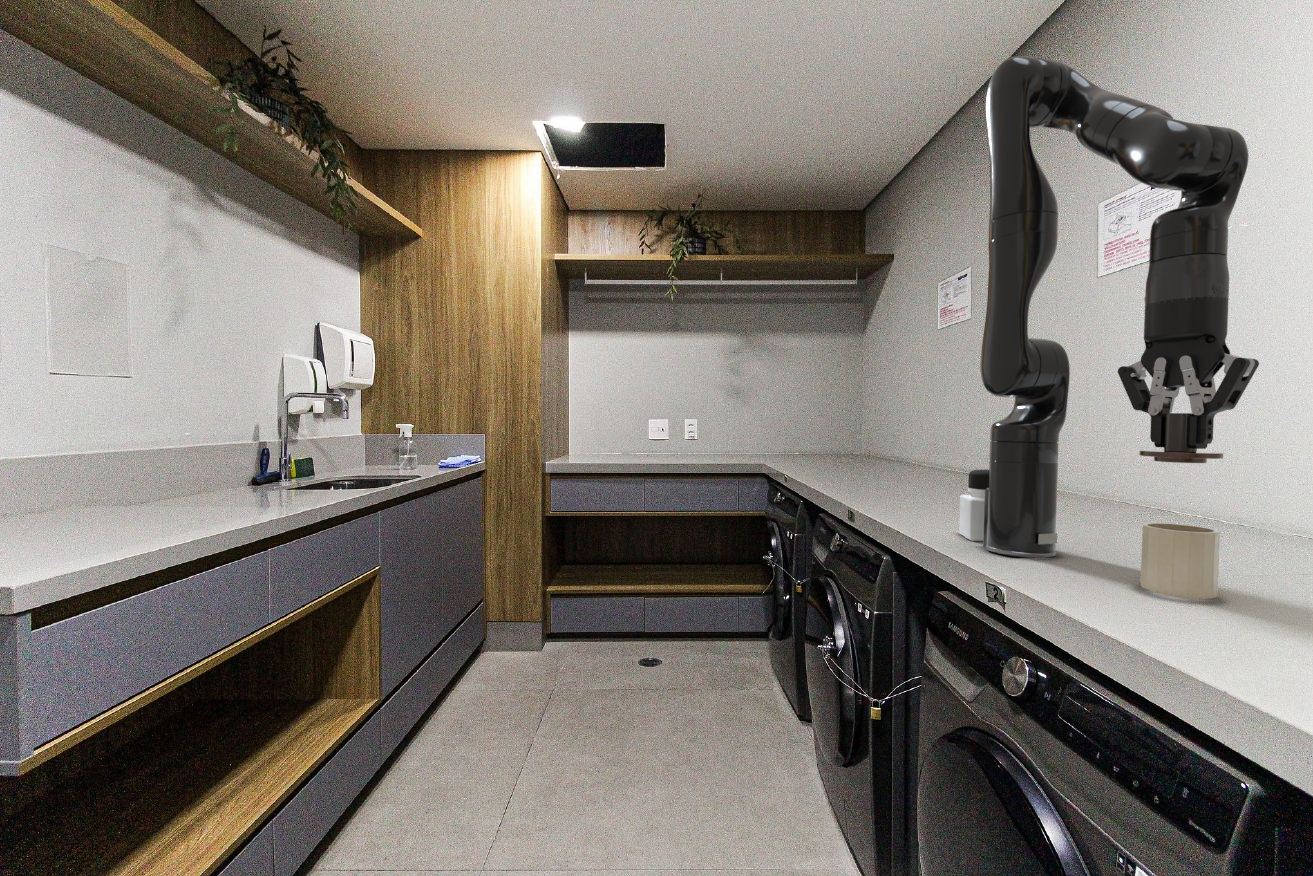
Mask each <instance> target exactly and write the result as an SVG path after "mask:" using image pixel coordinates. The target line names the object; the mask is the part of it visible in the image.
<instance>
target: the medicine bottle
mask: <svg viewBox="0 0 1313 876" xmlns="http://www.w3.org/2000/svg"><path fill="white" fill-rule="evenodd" d="M967 480H968V483H967V486H968V487H967V492H968V493H969V494H961V495H960V496H959V523H958V527H959V528H958V533H959V534H960V535H961V536H962V537H964V538H966V539H967V540H969V541H971V542H983V536H984V504H985V489H986V488H989V469H987V468H986V469H984V468H983V469H973V470H970V471H969V472H968V479H967Z"/></svg>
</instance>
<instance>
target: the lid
mask: <svg viewBox="0 0 1313 876" xmlns="http://www.w3.org/2000/svg"><path fill="white" fill-rule="evenodd" d="M1190 416H1194V414H1193V413H1192V412H1171V413H1166V414H1165V431H1164V447H1163V449H1162V450H1160V449H1159V450H1157V449H1155V450H1153V449H1152V450H1151V449H1140V450H1139V452H1138V453H1139V457H1140V456H1141V457H1151V458H1152V457H1153V461H1154V462H1157V463H1158V462H1160V463H1176V464H1177V463H1179V464H1207V462H1208V460H1217V459H1218V460H1221V459H1222V460H1223V459H1224V453H1223V452H1213V451H1198V449H1192V448H1190V447H1189V429H1190Z"/></svg>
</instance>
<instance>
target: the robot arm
mask: <svg viewBox="0 0 1313 876" xmlns="http://www.w3.org/2000/svg"><path fill="white" fill-rule="evenodd" d="M985 96H986V97H985V125H986V136H987V146H988V156H989V157H988V158H989V194H990V195H989V198H990V199H989V218H988V219H989V220H988V277H987V278H988V280H987V281H988V282H987V300H986V309H985V321H984V327H983V335H982V341H981V343H982V344H981V351H980V364H979V369H980V378H981V382H982V384H983V387H984V388H985V390H986V391H987V392H988V393H989V394H991V395H992V396H994V397H997V398H1013V399H1014V403H1013V408H1012V410H1011V412H1010V413H1009V414H1008V415H1006V416H1005V417H1004V418H1001V419H1000V420H997V421H995V422H993V423H992V424H991V427H990V431H989V432H990V433H989V458H988V459H989V462H988V463H989V464H988V465H989V466H988V470H989V488H986V489H985V504H984V536H983V541H982V547H984V548H985V549H986V550H987V551H988V552H992V553H995V554H999V555H1003V556H1010V557H1017V558H1028V559H1048V558H1049V559H1050V558H1055V557H1056V555H1057V551H1056V544H1058V532H1057V511H1058V510H1057V509H1058V507H1057V505H1058V475H1059V447H1060V445H1059V443H1060V433H1061V431H1062V429H1063V427H1064V424H1065V422H1066V419H1067V410H1068V402H1069V401H1068V399H1069V390H1070V389H1069V388H1070V378H1071V367H1070V366H1071V365H1070V359H1069V356H1068V353H1067V351H1066V349H1065V348H1064V347H1063V345H1061V343H1059V342H1057V341H1056V340H1051V339H1047V338H1037V337H1036V338H1032V337H1029V313H1030V306H1031V301H1032V298H1033V295H1034V293H1035V291H1036V289H1037V287H1038V286H1039V284H1040V282H1041V281H1042V279H1043V278H1044V276H1045V275H1046V272H1047V271H1048V270H1049V267H1050V265H1051V264H1052V262H1053V260H1054V258H1055V255H1056V252H1057V249H1058V243H1059V240H1058V239H1059V203H1058V200H1057V197H1056V194H1055V191H1054V189H1053V188H1052V187H1053V186H1051V184H1050V181H1049V179H1048V177H1047V175H1046V174H1045V172H1044V171H1043V168H1042V167H1041V165H1040V163H1039V162H1038V159H1037V157H1036V154H1035V153H1034V152H1035V151H1034V149H1033V147H1032V140H1031V129H1035V128H1045V129H1046V128H1047V129H1053V130H1054V129H1055V130H1059V131H1064V132H1065V131H1066V132H1068V133H1071V134H1073V135H1074V136H1075V137H1076V139H1077V141H1078V142H1079V144H1080V145H1081V146H1083V148H1085V149H1086V150H1088V151H1089V152H1091V153H1092V154H1094V155H1097V156H1099V157H1100V158H1103V159H1105V160H1107V161H1109V162H1112V163H1113V164H1116V165H1118V166H1120V167H1121V169H1122V170H1124V171H1125V172H1126V174H1128V175H1129V176H1130V177H1131V178H1132V179H1134V180H1136V181H1137V182H1138V183H1141V184H1143V185H1145V186H1149V187H1152V188H1155V189H1161V190H1170V191H1180V193H1181V194H1180V201H1179V204H1178V206H1177V208H1174V209H1170V210H1167V211H1164V212H1163V213H1161V214H1159V215H1158V216H1157V217H1156V218H1155V219H1154V220H1153V222H1152V224H1151V227H1150V235H1149V251H1148V252H1149V253H1148V254H1149V255H1148V260H1149V261H1148V271H1147V277H1146V282H1145V289H1144V290H1145V291H1144V292H1145V293H1144V322H1143V324H1144V325H1143V341H1144V344H1145V345H1144V346H1145V349H1144V352H1143V353H1142V354H1141V356H1140V360H1139V361H1136V362H1135V363H1134V362H1133V364H1130V365H1126V366H1125V365H1122V366H1120V367H1118V368H1117V374H1118V376H1119V378H1120V381H1121V384H1122V385H1123V388H1124V390H1125V392H1126V395H1127V397H1128V400H1129V402H1130V404H1131V406H1132V409H1133V410H1135V411H1138V412H1139V411H1141V412H1143V413H1146V414H1148V415H1149V416H1150V432H1149V433H1150V435H1149V437H1150V438H1149V439H1150V442H1151V443H1153V444H1154V447H1155V448H1164V431H1165V414H1166V413H1173V408H1174V403H1175V399H1176V398H1177V397H1178V396H1179V394H1180V389H1181V388H1183V387H1184V390H1185V394H1186V396H1188V398H1189V404H1190V411H1191V413H1193V414H1194V416H1190V429H1189V447H1190V448H1192V449H1197V450H1205V449H1207V448H1208V446H1209V445H1210V444H1212V442H1213V440H1214V419H1215V416H1216V415H1217V414H1219V413H1222V412H1225V411H1230V410H1231V411H1232V410H1233V409H1235V408H1236V406H1237V405H1238V403H1239V401H1240V399H1241V398H1242V396H1243V394H1244V392H1245V391H1246V389H1247V387H1248V386H1249V384H1250V382H1251V380H1252V378H1253V376H1254V375H1255V373H1256V371H1257V369H1258V368H1259V365H1260V361H1259V360H1258V359H1256V358H1251V357H1250V358H1248V357H1242V356H1238V355H1235V354H1232V353H1231V351H1230V348H1229V347H1228V346H1227V343H1226V340H1227V335H1228V321H1229V300H1230V299H1229V298H1230V297H1229V296H1230V295H1229V294H1230V271H1229V264H1228V248H1229V247H1228V246H1229V220H1230V218H1231V215H1232V213H1233V210H1234V207H1235V205H1236V203H1237V199H1238V197H1239V194H1240V190H1241V188H1242V184H1243V182H1244V178H1245V177H1246V173H1247V169H1248V166H1249V159H1250V158H1249V156H1250V155H1249V148H1248V145H1247V141H1246V140H1245V137H1244V136H1243V135H1242V134H1241V133H1240V132H1239V131H1238V130H1236V129H1233V128H1231V127H1225V126H1217V125H1209V124H1202V123H1193V122H1188V121H1185V120H1184V121H1183V120H1180V119H1176V118H1174V117H1173V116H1172V114H1170V112H1168V111H1166V110H1165V109H1162V108H1161V107H1159V106H1156V105H1153V104H1150V103H1147V102H1144V101H1142V100H1139V99H1136V98H1132V97H1129V96H1126V95H1122V94H1119V93H1115V92H1112V91H1108V90H1106V89H1104V88H1102V87H1100V86H1098V85H1096V84H1095V83H1093V82H1091V81H1090V80H1089V79H1087V78H1086V77H1085V76H1084V75H1082V74H1081V73H1080V72H1078V71H1077V70H1076V69H1074V68H1072V67H1071V66H1069V65H1068V64H1067V63H1064V62H1063V61H1059V60H1055V59H1046V58H1040V57H1033V56H1025V55H1018V56H1011V57H1008V58H1006V59H1005V60H1003V61H1002V62H1001V63H1000V64H999V65H998V66H997V68H995V70H994V72H993V73H992V76H991V78H990V80H989V83H988V87H987V91H986V95H985ZM1223 366H1224V368H1223ZM1222 368H1223V373H1224V374H1225V375H1224V377H1223V379H1222V381H1221V382H1220V385H1219V386H1218V388H1217V389H1216V383H1215V376H1216V375H1217V373H1218V372H1219V371H1220V370H1221V369H1222ZM1146 372H1147V373H1148V374H1149V375H1150V377H1151V378H1152V380H1151V384H1150V388H1149V387H1148V385H1147V382H1146V380H1145V379H1146V378H1147V373H1146Z"/></svg>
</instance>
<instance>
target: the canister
mask: <svg viewBox="0 0 1313 876" xmlns="http://www.w3.org/2000/svg"><path fill="white" fill-rule="evenodd" d="M1220 541H1221V532H1220V530H1218V529H1215V528H1211V527H1205V526H1200V525H1199V526H1198V525H1189V524H1180V523H1169V522H1168V523H1167V522H1146V523H1142V526H1141V549H1140V550H1141V551H1140V552H1141V553H1140V580H1139V586H1140V587H1141V588H1143V589H1144V590H1147V591H1149V592H1150V591H1151V592H1154V593H1158V594H1163V595H1167V596H1172V597H1180V598H1187V599H1202V600H1204V599H1206V600H1207V599H1215V598H1217V597H1218V590H1219V565H1220Z"/></svg>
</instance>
